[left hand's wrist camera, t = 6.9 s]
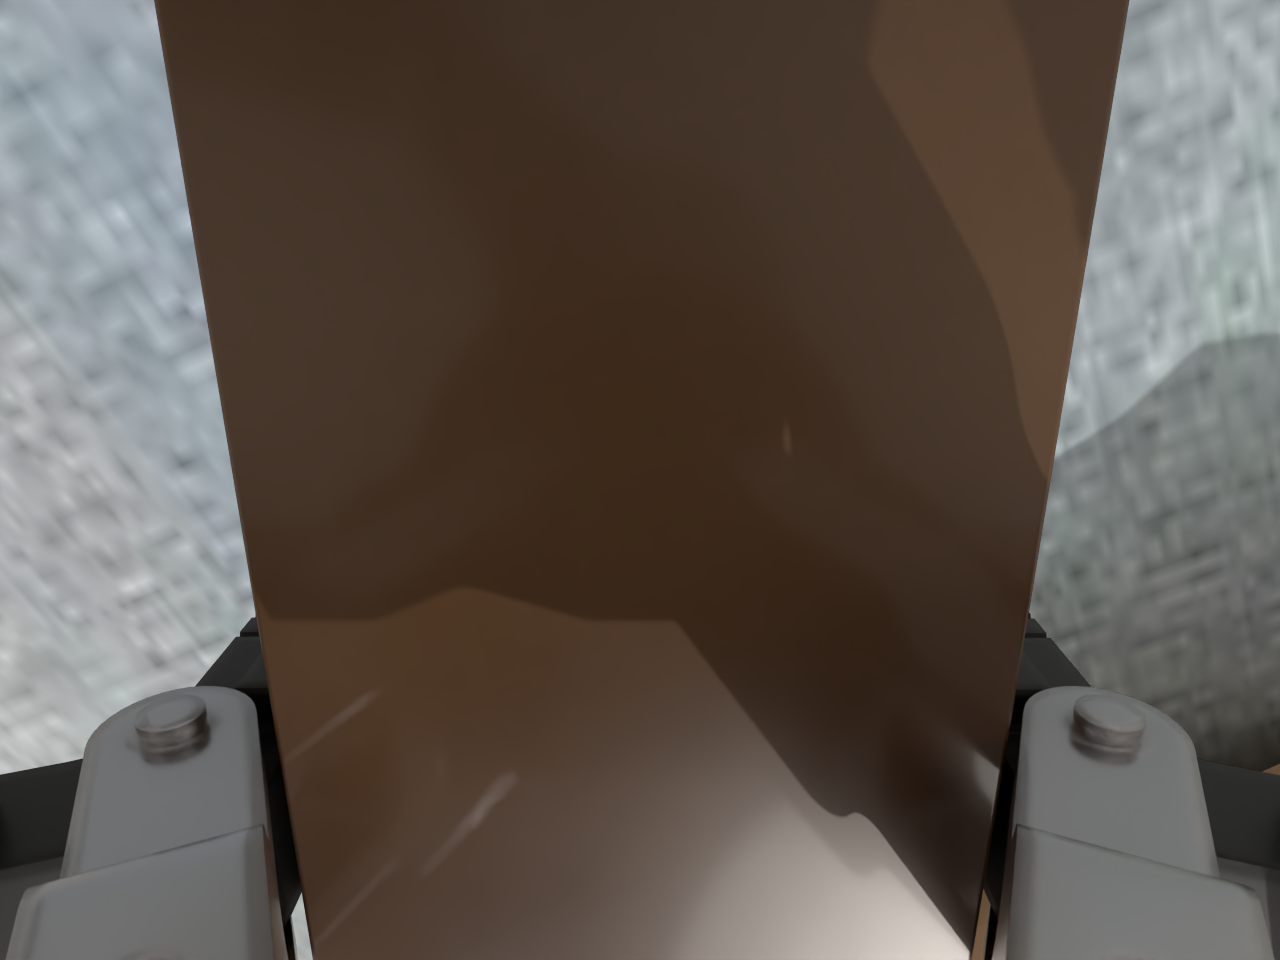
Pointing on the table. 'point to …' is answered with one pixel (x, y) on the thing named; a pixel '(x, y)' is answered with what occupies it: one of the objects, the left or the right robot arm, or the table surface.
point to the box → (642, 448)
